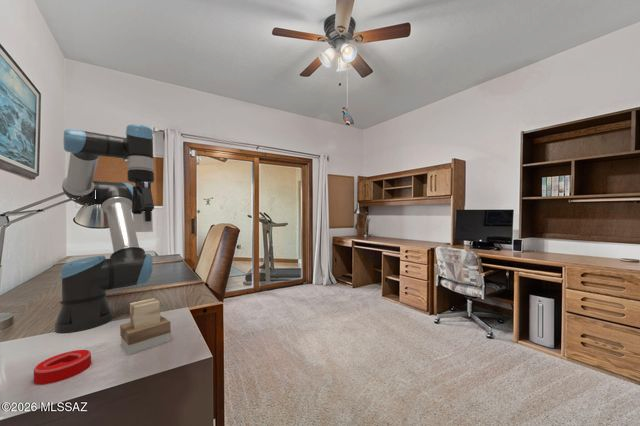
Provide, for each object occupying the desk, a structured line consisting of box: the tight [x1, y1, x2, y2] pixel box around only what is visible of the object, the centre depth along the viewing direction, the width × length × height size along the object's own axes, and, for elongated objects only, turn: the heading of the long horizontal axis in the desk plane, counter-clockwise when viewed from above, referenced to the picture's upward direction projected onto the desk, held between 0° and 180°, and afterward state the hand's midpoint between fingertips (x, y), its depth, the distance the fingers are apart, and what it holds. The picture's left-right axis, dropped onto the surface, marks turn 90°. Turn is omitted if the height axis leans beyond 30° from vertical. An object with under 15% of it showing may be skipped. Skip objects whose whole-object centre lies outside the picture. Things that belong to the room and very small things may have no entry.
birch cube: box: [129, 297, 161, 329], centre depth 75 cm, size 6×6×6 cm
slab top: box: [119, 314, 172, 345], centre depth 75 cm, size 10×10×3 cm
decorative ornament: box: [33, 349, 92, 386], centre depth 61 cm, size 10×10×3 cm
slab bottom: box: [120, 331, 172, 355], centre depth 75 cm, size 10×10×3 cm
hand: (142, 232), depth 89 cm, fingers open, 13 cm apart
